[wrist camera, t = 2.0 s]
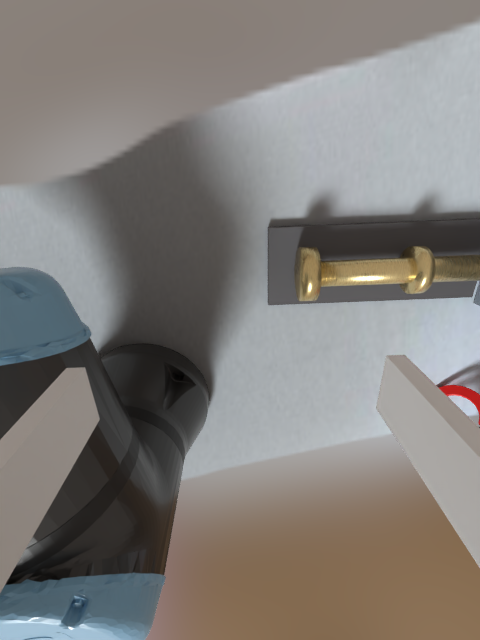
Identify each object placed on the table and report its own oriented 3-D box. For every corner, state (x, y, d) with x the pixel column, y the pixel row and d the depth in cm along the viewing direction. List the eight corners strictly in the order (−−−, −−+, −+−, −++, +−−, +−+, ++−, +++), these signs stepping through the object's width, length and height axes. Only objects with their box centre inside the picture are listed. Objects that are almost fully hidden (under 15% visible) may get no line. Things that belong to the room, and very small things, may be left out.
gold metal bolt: (293, 291, 31) (303, 309, 27) (295, 243, 29) (306, 253, 25) (468, 284, 31) (507, 301, 27) (482, 235, 29) (527, 244, 25)
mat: (267, 302, 33) (268, 305, 32) (268, 227, 30) (268, 228, 29) (466, 294, 33) (472, 296, 32) (488, 218, 30) (495, 219, 29)
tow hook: (455, 373, 37) (515, 426, 32) (463, 383, 44) (513, 427, 39) (411, 406, 39) (461, 461, 34) (425, 411, 46) (468, 456, 41)
